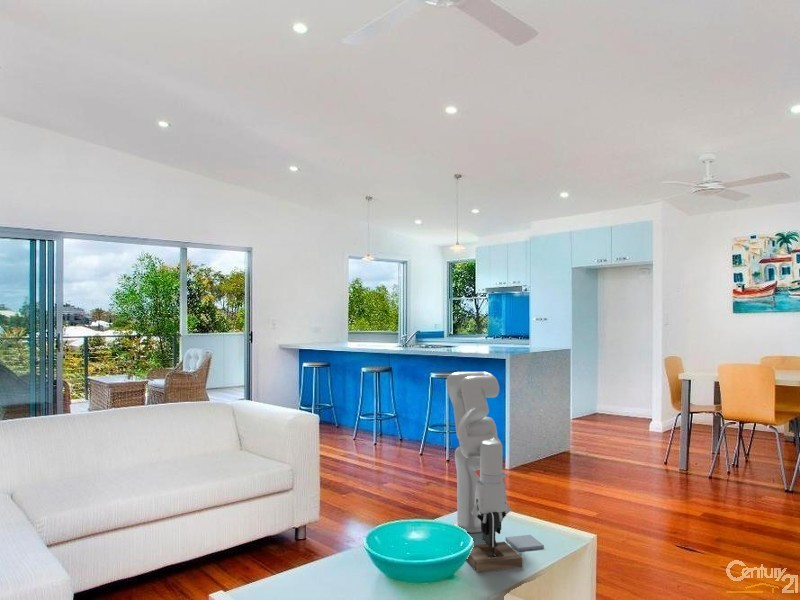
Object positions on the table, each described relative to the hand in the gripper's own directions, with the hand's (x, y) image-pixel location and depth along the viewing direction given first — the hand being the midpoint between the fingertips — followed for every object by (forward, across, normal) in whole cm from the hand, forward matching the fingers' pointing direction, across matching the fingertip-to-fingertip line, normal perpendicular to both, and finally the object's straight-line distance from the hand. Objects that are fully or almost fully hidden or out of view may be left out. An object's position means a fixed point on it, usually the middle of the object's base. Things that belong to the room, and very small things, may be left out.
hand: (491, 532), depth 190 cm
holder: (+9, 0, 0) cm, 9 cm away
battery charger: (+4, 0, 0) cm, 4 cm away
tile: (+9, -17, -10) cm, 22 cm away
